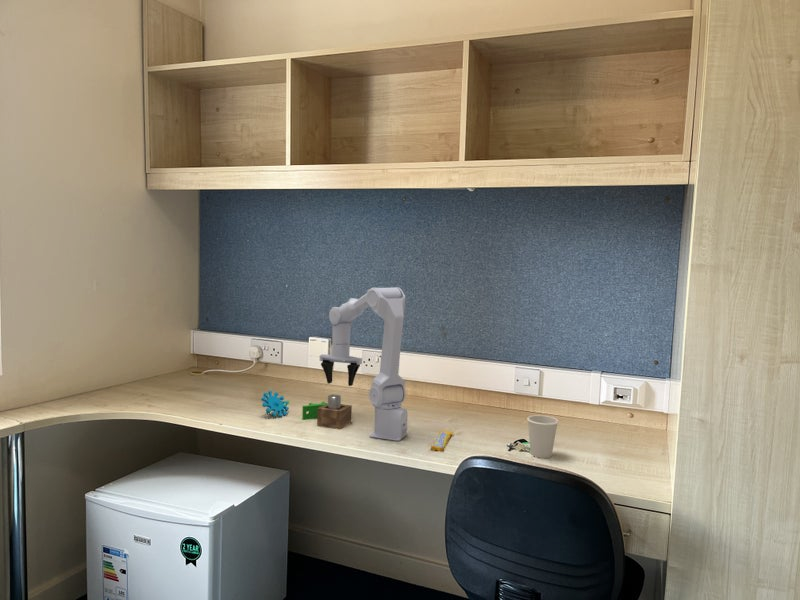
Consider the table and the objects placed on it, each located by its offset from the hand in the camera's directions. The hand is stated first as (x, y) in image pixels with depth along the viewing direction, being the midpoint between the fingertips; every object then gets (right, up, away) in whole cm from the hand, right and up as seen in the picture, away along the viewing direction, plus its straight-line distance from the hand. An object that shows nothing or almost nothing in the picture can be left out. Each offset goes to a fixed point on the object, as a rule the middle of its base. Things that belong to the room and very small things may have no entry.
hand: (340, 384), depth 199 cm
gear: (-21, -10, -1) cm, 23 cm away
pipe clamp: (-7, -11, -2) cm, 13 cm away
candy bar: (+32, -14, -25) cm, 43 cm away
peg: (-1, -10, -10) cm, 14 cm away
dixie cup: (+59, -15, -33) cm, 69 cm away
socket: (-1, -11, -10) cm, 15 cm away
